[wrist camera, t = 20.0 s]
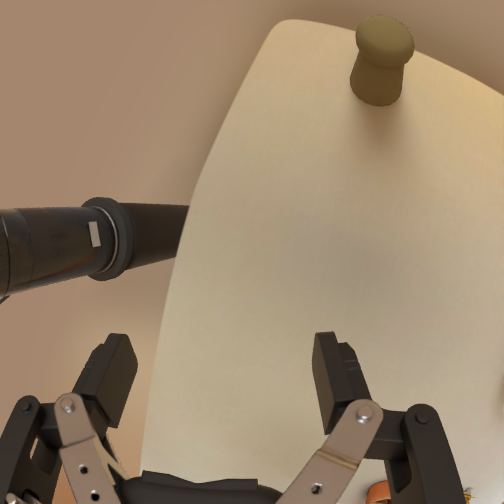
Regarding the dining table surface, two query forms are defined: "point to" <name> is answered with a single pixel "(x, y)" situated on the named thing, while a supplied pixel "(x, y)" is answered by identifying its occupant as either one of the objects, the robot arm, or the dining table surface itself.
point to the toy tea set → (381, 498)
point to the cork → (381, 59)
